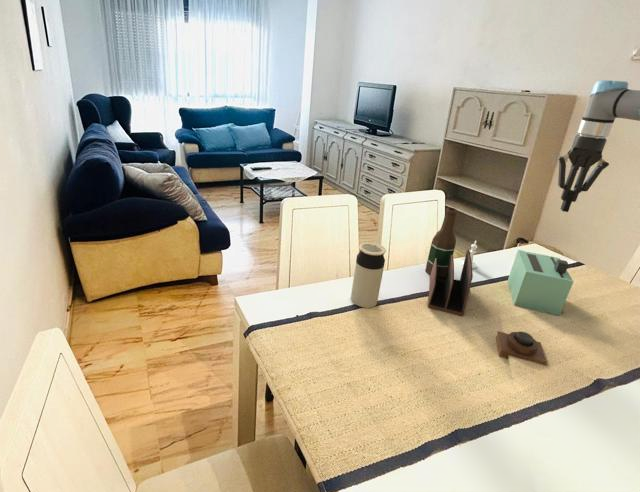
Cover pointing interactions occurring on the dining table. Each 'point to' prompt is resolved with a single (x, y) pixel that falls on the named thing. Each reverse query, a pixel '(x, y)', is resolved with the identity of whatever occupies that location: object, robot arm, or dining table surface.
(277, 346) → the dining table surface
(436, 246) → the beer bottle
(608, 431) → the dining table surface
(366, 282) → the travel mug
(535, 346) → the button block
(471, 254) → the chess piece
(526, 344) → the button
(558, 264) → the toaster slider
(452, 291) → the letter holder
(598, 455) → the dining table surface
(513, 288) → the toaster
